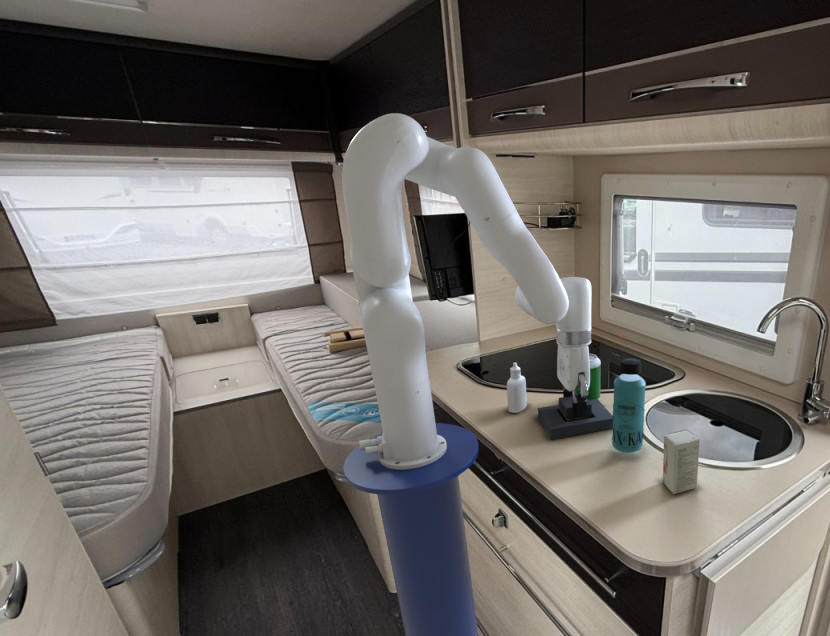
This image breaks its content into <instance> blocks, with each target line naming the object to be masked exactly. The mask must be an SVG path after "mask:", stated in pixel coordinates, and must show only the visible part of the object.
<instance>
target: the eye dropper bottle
mask: <svg viewBox="0 0 830 636" xmlns="http://www.w3.org/2000/svg"><path fill="white" fill-rule="evenodd" d="M512 364H513V365H512V367H510V368H509V371H510V372H509V373H510V377H509V379H508V380H507V382H506V396H507V407H508V408H507V410H508V412H509V413H513V414H517V413H518V414H519V413H521V412H523V411H524V410H525V409H526V408H527V406H528V397H527V395H528V394H527V383H526V381H527V380H526V377H525V376H524V375H522V372H521V371H522V370H521V367H520V366H518V363H517V362H513V363H512Z"/></svg>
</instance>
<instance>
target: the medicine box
mask: <svg viewBox="0 0 830 636" xmlns="http://www.w3.org/2000/svg"><path fill="white" fill-rule="evenodd" d="M700 442H701V439H700V437H697V435H695V434H694V433H693V432H692V431H690V430H689V429H687V428H686V429H682V430H681V429H680V430H677V431H673V432H669V433H666V434H663V459H662V461H663V462H662V463H663V464H662V466H663V467H662V483H663V484H664V485H665V486H666V487H667V489H668V490H669V491H670V492H671V493H672V494H673V495H675V494H676V495H677V494H679V493H683V492H686V491H690V490H693V489H696V488H697V487H698V476H699V475H698V474H699V473H698V472H699V461H700Z"/></svg>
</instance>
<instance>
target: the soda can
mask: <svg viewBox="0 0 830 636" xmlns="http://www.w3.org/2000/svg"><path fill="white" fill-rule="evenodd" d="M589 363H590V385H589V388H588V396H587V400H593V399H598V400H599V401H600V400H601V365H602V364H601V363H602V362H601V359H600V358H599V357H598V356H597V355H596V354H594V353H589ZM576 388H580V386H579V385H578V386H576ZM578 394H580V391H577V395H578Z"/></svg>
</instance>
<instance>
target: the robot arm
mask: <svg viewBox="0 0 830 636" xmlns="http://www.w3.org/2000/svg"><path fill="white" fill-rule="evenodd" d="M405 180H406V181H409V182H412V183H414V184H417V185H419V186H422V187H424V188H428V189H430V190H433V191H436V192H438V193H442V194H445V195H448V196H450V197H454V198H455V199H456V201H457V202H458V204H459V206H460V208H461V209H462V210H463V213H464V214H465V216H466V217H467V219H468V221H469V223H470V224H471V226H472V228H473V230H474V231H475V233H476V235H477V236H478V238H479V240H480V242H481V243H482V245H483V246H484V248H485V249H486V250H487V251H488V253H489V254H490V255H491V256H492V258H494V259H495V260H496V261H497V262H498V263H499V264H500V265H502V267H504V269H505V270H506V271H507V272H508V274H509V275H510V276H511V278H513V280H514V281H515V283H516V284H517V287H516V289H515V292H514V299H515V303H516V304H517V306H518V307H519V308H520V309H521V310H522V311H523V312H525V313H526V314H527V315H529V316H531V317H532V318H534V319H535V320H536V321H538V322H540V323H542V324H546V325H552V324H555V335H556V336H555V337H556V338H555V339H556V340H555V341H556V344H557V357H556V358H557V359H556V376H557V379H558V380H559V382H560V383H561V385H562V389H563V390H562V397H568V396H573V400H574V402H572V417H573V419H572V420H578V419H584V418H587V417H586V416H587V396H588V388H589V385H590V363H589V354H590V349H589V346H590V345H591V343H592V284H591V281H590V280H589V279H588V278H585V277H580V276H566V277H561V278H560V277H559V275H558V273H557V271H556V269H555V267H554V265H553V263H552V262H551V260H550V259H549V257H548V256H547V255H546V253H545V252H544V251H543V249H542V248H541V246H540V245H539V244H538V242H537V241H536V239H535V237H534V236H533V234H532V233H531V232H530V230H529V229H528V228H527V226H526V225H525V223H524V222H523V219H522V218H521V216H520V214H519V212H518V210H517V208H516V206H515V204H514V203H513V201H512V199H511V197H510V195H509V193H508V191H507V189H506V187H505V185H504V183H503V181H502V180H501V178H500V175H499V173H498V172H497V170H496V167H495V166H494V164H493V162H492V161H491V159H490V158H489V157H488V156H487V154H485V152H484V151H482V150H481V149H480V148H476V147H472V146H461V147H458V148H457V147H454V146H451V145H449V144H446V143H444V142H441V141H438V140H437V139H434V138H432V137H429V136H427V134H426V131H425V130H424V128H423V127H422V126H421V124H420V123H419V122H418V121H416V120H415V119H414V118H412V117H411V116H408V115H407V114H403V113H398V112H395V113H393V112H392V113H386V114H383V115H382V116H378V117H377V118H375V119H373V120H372V121H369V123H367V124H366V125H364V126H363V127H362V128H361V129H360V130H359V131H358V132H357V133H356V134H355V136H354V137H353V138H352V140H351V141H350V143H349V145H348V147H347V149H346V151H345V154H344V157H343V162H342V168H341V184H342V185H341V186H342V194H343V202H344V207H345V217H346V222H347V223H346V224H347V227H348V233H349V239H350V246H349V257H350V263H351V269H352V273H353V279H354V285H355V290H356V294H357V300H358V305H359V311H360V317H361V325H362V330H363V331H362V332H363V337H364V340H365V346H366V351H367V355H368V356H367V357H368V360H369V366H370V370H371V371H370V372H371V377H372V382H373V386H374V391H375V397H376V401H377V407H378V413H379V418H380V424H381V429H382V433H383V434H382V436H378V437H377V439H370V438H368V439H362V440H361V439H360V440H359V442H358V444H359V445H358V446H360V450H361V451H362V450H365V451H366V455H367V454H373V453H377V452H379V453H378V457H379V461H380V463H381V464H382V465H383V466H385V467H387V468H390V469H396V470H407V469H414V468H419V467H422V466H425V465H428V464H431V463H432V462H434V461H436V460H438V459H439V458H440V457H441V456H443V455H444V453H445V452H446V449H447V444H446V440H445V439H444V438H443V437H442V436H440V435H437V431H436V424H435V423H436V416H435V411H434V410H435V409H434V403H433V402H434V401H433V394H432V389H431V380H430V376H429V368H428V360H427V352H426V337H425V336H426V335H425V327H424V321H423V317H422V315H421V313H420V310H419V309H418V307H417V305H416V304H415V303H414V300H413V293H412V287H411V281H410V274H409V273H410V270H411V267H412V258H411V252H410V249H409V244H408V238H407V232H406V225H405V219H404V208H403V202H402V190H403V184H404V182H405ZM578 385H579V386H580V388H576V386H578ZM577 391H580V394H578V396H577ZM583 417H584V418H583ZM577 418H578V419H577Z"/></svg>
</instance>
